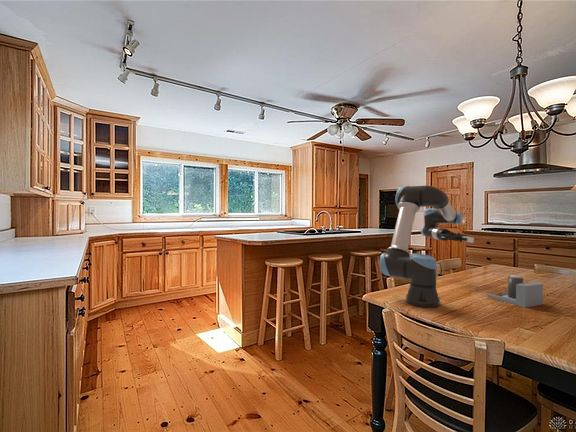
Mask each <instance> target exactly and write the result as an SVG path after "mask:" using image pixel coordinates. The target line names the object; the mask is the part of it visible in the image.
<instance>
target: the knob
mask: <svg viewBox="0 0 576 432" xmlns="http://www.w3.org/2000/svg"><path fill="white" fill-rule="evenodd" d="M522 283H524V277H522V275H518V274H510V276H508V277H507V292H508V295H501V297H504V298H508V299H511V300H515V301H516V284H522Z"/></svg>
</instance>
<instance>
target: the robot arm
mask: <svg viewBox="0 0 576 432" xmlns="http://www.w3.org/2000/svg"><path fill="white" fill-rule="evenodd" d="M394 200H395V201H394V202H395V205H396V206H397V209H398V213H397V214H398V215H397V219H396V222H395V227H394V230H393V235H392V240H391V244H390V246H389V247H387V249H386V252H383V253H381V255H380V257H379V267H380V271H381V273H382V274H383V275H384V276H388V277H391V278H393V277H394V278H399V279H405V280H409V287H408V290H407V293H406V295H405V302H406V303H408V304H409V305H412V306H415V307H420V308H439V307H440V305H441V299H440V297H439V295H438V293H439V292H438V290H437V270H438V267H437V259H436V258H434V257H433V256H431V255H428V254H424V253H423V254H422V253H415V252H413V253H410V252H409V250H408V249H409V246H410V240H411V235H412V232H413V227H414V222H415V219H416V213H418V212H419V211H420V208H421V207H422V208H423V207H426V208H425V209H424V213H423V224H424V225H423V226H421V229H420V233H421V235H422V236H423V237H426V238H430V239H436V240H437V241H439V240H440V241H443V242H444V241H445V242H447V241H455V242H459V243H462V242H466V243H471V244H473V243H475V238H474V237H471V236H468V235H467V234H463V233H460V232H452V231H450V229H447V228H443V227H442V228H441V227H437V226H438V224H449V225H451V224H454V225H460V224H462V223H463V222H462V221H463V213H462V212H461V211H455V209H454V207H453V205H451V203H450V199H449V196H448V194H447V193H446V192H445V191H443V190H442V189H440V188H439V187H436V186H433V185H417V186H416V185H412V186H411V185H410V186H409V185H406V186H401V187H399V188H398V189H397V190H396V194H395V199H394ZM427 207H428V208H427ZM430 207H431V208H430Z"/></svg>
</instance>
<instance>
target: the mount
mask: <svg viewBox="0 0 576 432" xmlns="http://www.w3.org/2000/svg"><path fill="white" fill-rule="evenodd" d="M505 295H508V291H501V296H500V295H498V294H492V293H490V292H489V293H487V294H486V297H488V298H492V299H494V300H497V301H501V302H505V303H508V304H512V305H515V306H518V307H522V308H530V307H535V306H541V305H543V302H544V301H543V299H544V298H543V297H544V283H540V282H535V281H530V282H523V283H522V284H516V301H515V300H511V299H508V298H504V297H502V296H505Z"/></svg>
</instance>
